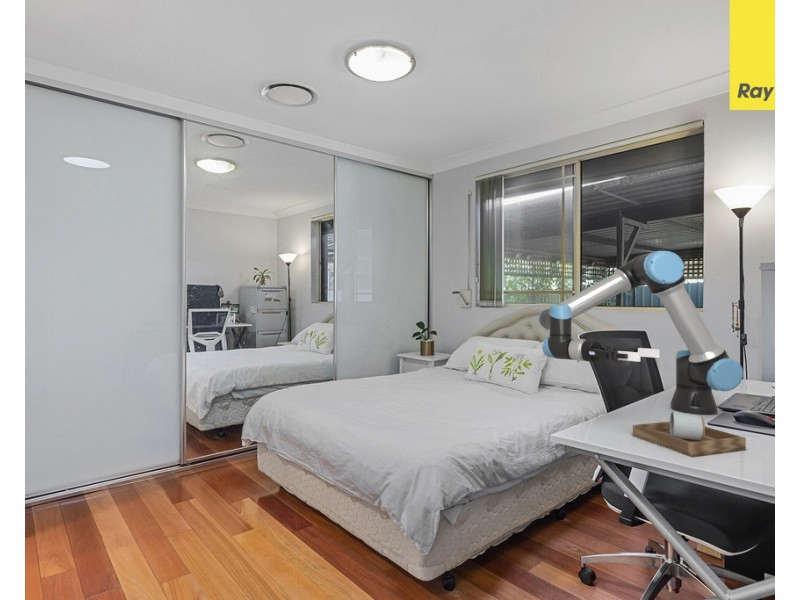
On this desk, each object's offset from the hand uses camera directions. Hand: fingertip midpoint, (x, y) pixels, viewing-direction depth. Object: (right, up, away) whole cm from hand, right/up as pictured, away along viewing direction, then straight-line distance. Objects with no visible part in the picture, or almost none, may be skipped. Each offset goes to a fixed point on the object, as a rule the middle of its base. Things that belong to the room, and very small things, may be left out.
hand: (650, 355), depth 144 cm
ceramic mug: (+7, -24, -6) cm, 26 cm away
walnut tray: (+7, -25, -8) cm, 27 cm away
